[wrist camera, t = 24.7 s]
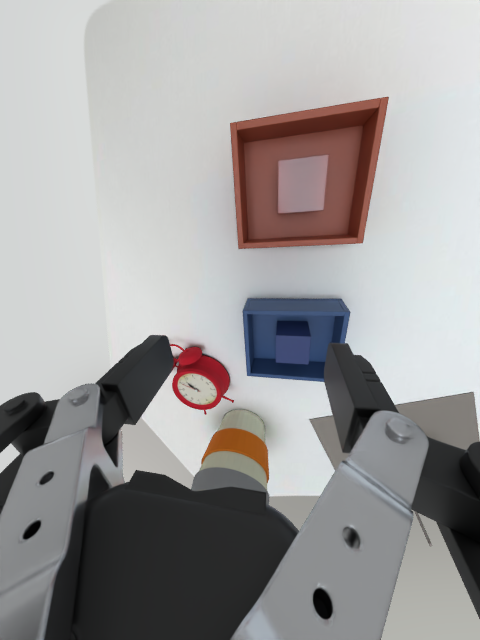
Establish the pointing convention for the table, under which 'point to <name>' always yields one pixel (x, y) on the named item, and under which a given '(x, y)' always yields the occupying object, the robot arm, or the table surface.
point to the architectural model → (430, 415)
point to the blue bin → (263, 315)
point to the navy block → (293, 342)
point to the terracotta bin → (304, 141)
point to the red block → (302, 184)
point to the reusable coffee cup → (235, 455)
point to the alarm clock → (199, 379)
